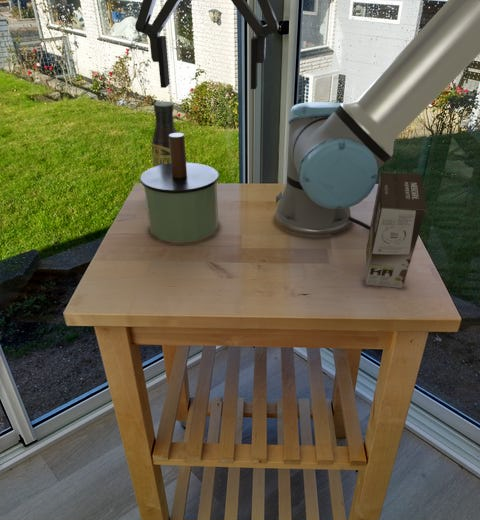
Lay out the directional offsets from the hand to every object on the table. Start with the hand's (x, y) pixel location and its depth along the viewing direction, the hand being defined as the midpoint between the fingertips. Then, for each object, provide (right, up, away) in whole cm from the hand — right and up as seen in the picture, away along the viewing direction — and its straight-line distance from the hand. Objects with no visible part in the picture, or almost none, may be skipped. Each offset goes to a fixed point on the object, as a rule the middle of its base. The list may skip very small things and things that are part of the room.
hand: (209, 86), depth 75 cm
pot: (-7, -17, +26) cm, 31 cm away
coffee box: (+29, -27, +10) cm, 41 cm away
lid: (-7, -8, +19) cm, 22 cm away
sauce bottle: (-12, -6, +41) cm, 43 cm away
